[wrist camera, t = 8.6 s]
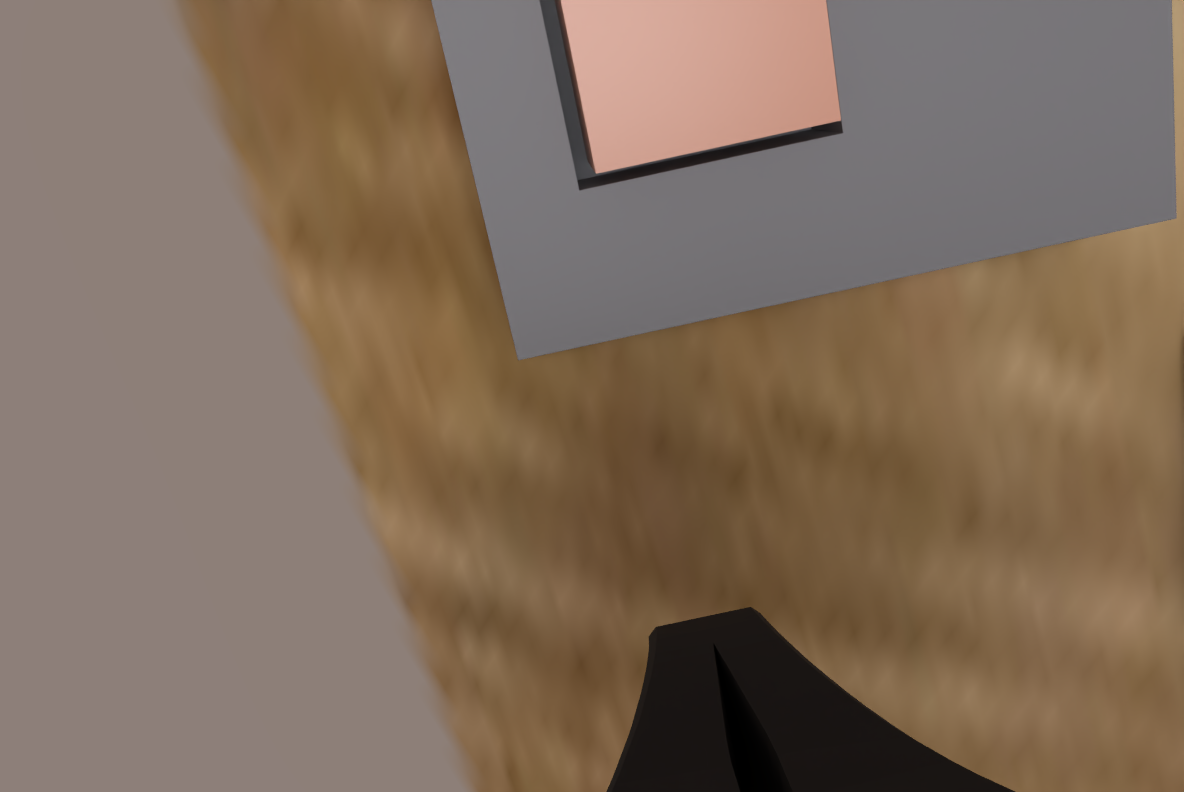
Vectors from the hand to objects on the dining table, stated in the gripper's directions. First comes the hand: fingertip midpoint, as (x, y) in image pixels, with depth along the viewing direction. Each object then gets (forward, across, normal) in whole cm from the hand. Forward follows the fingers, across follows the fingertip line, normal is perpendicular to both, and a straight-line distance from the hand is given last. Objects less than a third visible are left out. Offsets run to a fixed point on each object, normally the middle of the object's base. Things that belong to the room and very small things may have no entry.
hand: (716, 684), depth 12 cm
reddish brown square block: (+8, -2, -8) cm, 12 cm away
